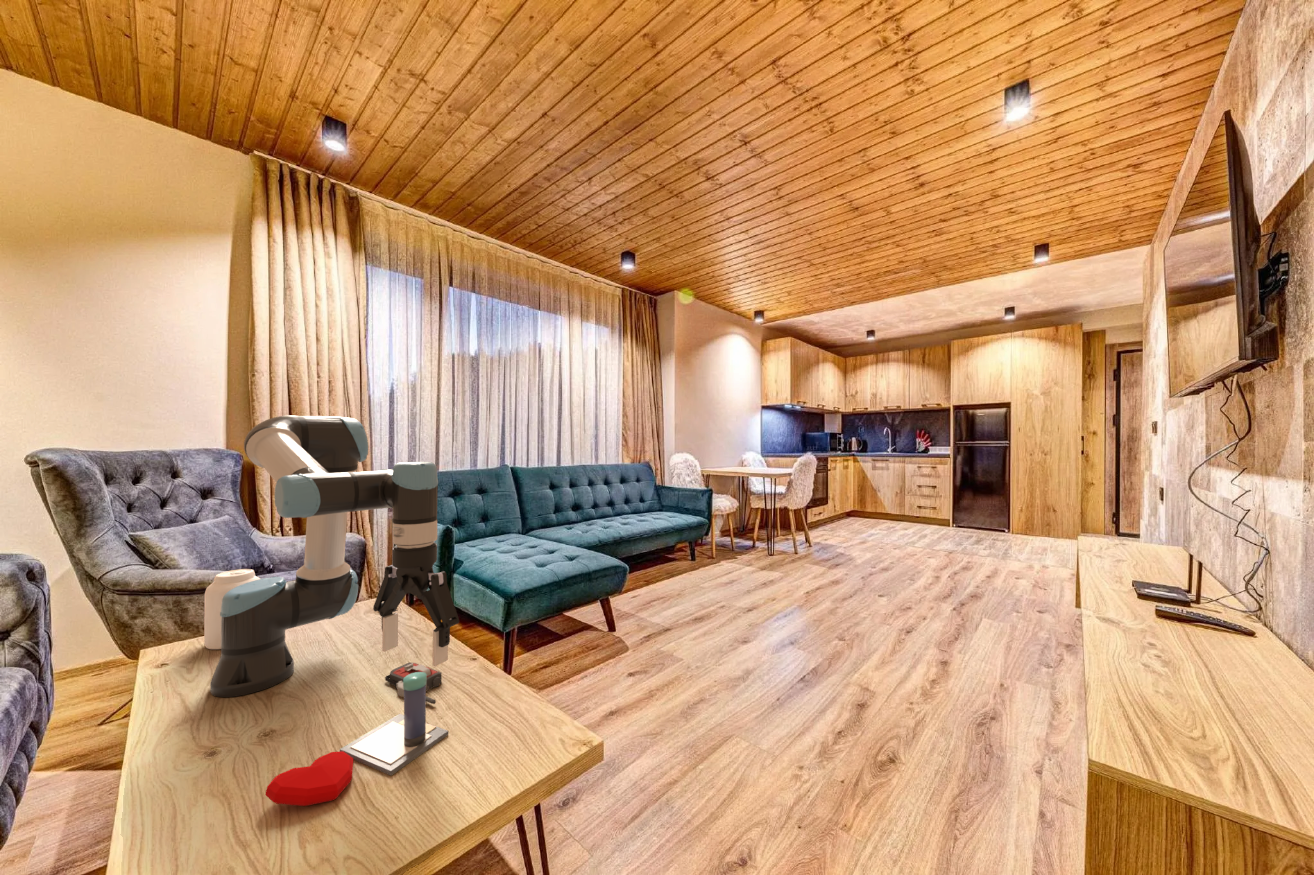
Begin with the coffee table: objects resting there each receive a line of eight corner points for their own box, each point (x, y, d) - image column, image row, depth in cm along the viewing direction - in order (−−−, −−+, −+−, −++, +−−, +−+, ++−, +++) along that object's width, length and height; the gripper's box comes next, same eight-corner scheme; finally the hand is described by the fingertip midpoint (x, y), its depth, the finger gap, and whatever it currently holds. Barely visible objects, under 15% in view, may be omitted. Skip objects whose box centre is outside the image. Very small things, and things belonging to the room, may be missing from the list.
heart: (370, 789, 78) (336, 765, 82) (376, 763, 78) (342, 740, 83) (291, 831, 67) (257, 801, 72) (298, 800, 68) (264, 772, 72)
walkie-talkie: (375, 688, 108) (430, 711, 98) (375, 669, 108) (430, 691, 98) (411, 671, 116) (464, 691, 106) (411, 653, 116) (464, 672, 106)
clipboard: (339, 753, 85) (339, 748, 85) (399, 717, 96) (399, 712, 96) (391, 775, 79) (390, 770, 79) (448, 734, 90) (448, 729, 90)
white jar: (262, 628, 142) (262, 563, 142) (263, 641, 132) (264, 572, 133) (205, 640, 133) (205, 571, 133) (203, 655, 124) (203, 581, 124)
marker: (398, 744, 86) (398, 680, 86) (416, 732, 89) (416, 670, 89) (412, 750, 84) (412, 684, 84) (431, 737, 88) (431, 674, 88)
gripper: (352, 541, 88) (352, 651, 88) (446, 555, 78) (445, 679, 78) (389, 533, 95) (388, 635, 95) (479, 546, 85) (479, 660, 85)
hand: (414, 655), depth 87 cm, fingers open, 13 cm apart
